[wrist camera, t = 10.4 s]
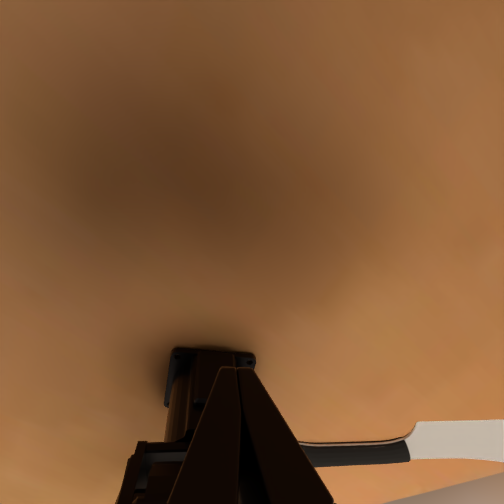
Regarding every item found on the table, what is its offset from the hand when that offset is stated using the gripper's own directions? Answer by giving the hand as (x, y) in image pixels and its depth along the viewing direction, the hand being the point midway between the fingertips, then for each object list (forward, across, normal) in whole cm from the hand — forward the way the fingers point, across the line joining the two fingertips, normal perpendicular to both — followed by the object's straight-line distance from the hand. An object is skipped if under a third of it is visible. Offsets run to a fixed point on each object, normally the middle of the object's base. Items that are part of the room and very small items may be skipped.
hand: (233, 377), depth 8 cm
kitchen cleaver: (+13, -25, +23) cm, 36 cm away
